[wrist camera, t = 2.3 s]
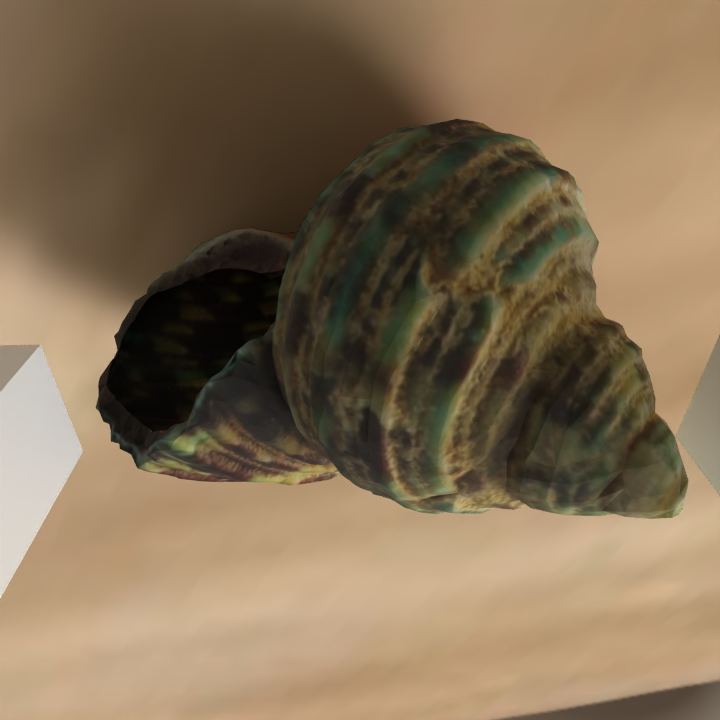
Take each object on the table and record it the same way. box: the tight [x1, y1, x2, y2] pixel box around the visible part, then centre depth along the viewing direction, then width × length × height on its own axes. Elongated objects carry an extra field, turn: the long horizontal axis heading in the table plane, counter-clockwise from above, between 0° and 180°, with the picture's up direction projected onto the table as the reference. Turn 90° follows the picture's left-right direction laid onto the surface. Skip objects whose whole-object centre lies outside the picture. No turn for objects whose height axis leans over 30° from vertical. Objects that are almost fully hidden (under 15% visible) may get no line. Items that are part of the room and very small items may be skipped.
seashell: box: [96, 119, 688, 519], centre depth 13 cm, size 11×11×10 cm
